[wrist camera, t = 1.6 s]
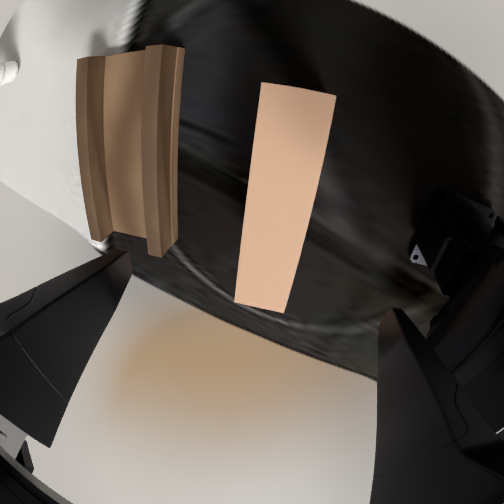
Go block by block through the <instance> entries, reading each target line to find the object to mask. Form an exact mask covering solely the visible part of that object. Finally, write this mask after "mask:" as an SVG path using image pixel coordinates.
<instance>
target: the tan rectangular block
mask: <svg viewBox="0 0 504 504" xmlns="http://www.w3.org/2000/svg"><path fill="white" fill-rule="evenodd" d="M335 101H336V96H335V95H331V94H326V93H322V92H317V91H312V90H307V89H302V88H297V87H291V86H285V85H279V84H272V83H264V82H262V83H261V90H260V98H259V105H258V113H257V120H256V128H255V135H254V143H253V151H252V158H251V166H250V174H249V182H248V190H247V198H246V206H245V215H244V223H243V231H242V240H241V248H240V257H239V266H238V274H237V283H236V292H235V301H234V302H237V303H241V304H245V305H249V306H254V307H258V308H263V309H267V310H272V311H276V312H281V313H284V310H285V307H286V304H287V300H288V297H289V293H290V290H291V286H292V283H293V279H294V276H295V272H296V269H297V265H298V261H299V258H300V254H301V250H302V246H303V242H304V239H305V235H306V231H307V227H308V223H309V219H310V215H311V211H312V207H313V203H314V199H315V195H316V190H317V186H318V182H319V177H320V173H321V169H322V164H323V160H324V155H325V150H326V146H327V141H328V136H329V131H330V126H331V121H332V116H333V111H334V106H335Z"/></svg>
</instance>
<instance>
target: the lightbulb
mask: <svg viewBox="0 0 504 504" xmlns="http://www.w3.org/2000/svg"><path fill="white" fill-rule="evenodd" d="M17 73H18V66H17V63H16V62H15V61H8V62H1V61H0V85H3V84H5V83H8V82H11V81H13V80H14V78H15V77H16V74H17Z"/></svg>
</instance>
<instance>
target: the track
mask: <svg viewBox="0 0 504 504" xmlns="http://www.w3.org/2000/svg"><path fill="white" fill-rule="evenodd" d="M184 54H185V48H180V47H174V46H169V45H163V44H161V45H152V46H146V50H142V51H134V52H127V53H121V54H115V55H110V56H92V57H85V58H81V59H77V72H76V128H77V145H78V157H79V166H80V175H81V183H82V190H83V197H84V203H85V209H86V214H87V220H88V225H89V230H90V235H91V239H92V240H96V241H99V242H102V241H103V240H104V239H105V238H106V237H107V236H108V235H109V234H110V233H112V232H113V231H117V232H122V233H126V234H130V235H134V236H139V237H143V238H147V246H148V254H149V255H153V256H157V257H161V258H162V256H163V255H164V254H165V253H166V251H167V250H168V249H169V247H170V246H171V245H172V244H174V243H175V241H176V240H177V239H178V222H177V162H178V132H179V113H180V98H181V85H182V74H183V64H184Z"/></svg>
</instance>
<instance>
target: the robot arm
mask: <svg viewBox="0 0 504 504" xmlns="http://www.w3.org/2000/svg"><path fill="white" fill-rule="evenodd" d="M441 192H443V195H442V196H440V193H441ZM490 213H491V214H490ZM489 214H490V216H489ZM494 217H495V212H494V210H493V209H491V208H490V207H488V206H486V205H484V204H481V203H479V202H477V201H475V200H473V199H470V198H468V197H466V196H464V195H461V194H459V193H457V192H454V191H452V190H449V189H447V188H444V187H438V188H437V189H436V191H435V193H434V196H433V199H432V201H431V204H430V207H429V209H428V211H427V212H426V213H425V215H424V218H423V220H422V223H421V225H420V227H419V230H418V232H417V234H416V237H415V242H414V245H413V247H412V249H411V251H410V253H409V258H410V260H411V261H412V262H414V263H418V264H422V265H426V266H428V268H429V270H430V272H431V273H433V274H434V276H435V278H436V280H437V283H438V285H439V287H440V289H441V292H442V294H443V295H447V296H448V297H449V300H448V301H447V303H446V304H445V305H444V307H443V308H442V309H441V310H440V312H439V313H438V314H437V316H434V317H433V319H432V320H431V321H430V330H429V332H428V334H427V337H426V339H425V337H424V336H423V335H422V333H421V332H420V331H419V330H418V328H417V327H416V326H415V325H414V324H413V322H412V321H411V320H410V319H409V317H408V316H407V315H406V314H405V313H404V311H403V310H401V309H397V308H390V309H389V311H388V312H387V314H386V316H385V317H384V319H383V320H382V322H381V324H380V326H379V337H378V357H377V435H376V452H375V465H374V475H373V483H372V491H371V498H370V504H504V219H503V218H502V217H500V216H497V218H496V220H495V222H494V224H495V225H494V227H492V225H491V224H492V222H493V220H494ZM414 255H417V256H416V257H413V256H414ZM131 275H132V265H131V260H130V254H129V252H128V251H126V250H122V249H116V250H114V251H112V252H109V253H107V254H105V255H103V256H100V257H98V258H96V259H94V260H91V261H89V262H87V263H85V264H83V265H81V266H78V267H76V268H74V269H72V270H69V271H67V272H65V273H63V274H61V275H59V276H57V277H55V278H53V279H51V280H49V281H47V282H45V283H42V284H40V285H38V286H37V287H34V288H32V289H30V290H28V291H27V292H24V293H22V294H20V295H18V296H16V297H14V298H11V299H9V300H7V301H5V302H2V303H0V504H72V503H71V502H70V501H68V500H66V499H65V498H63V497H62V496H60V495H59V494H58V493H56V492H55V491H53V490H52V489H51V488H49V487H48V486H46V485H45V484H44V483H42V482H41V481H40V480H39V479H37V478H36V477H35V476H34V475H32V472H33V470H34V467H33V463H32V460H31V457H30V453H29V449H28V445H27V441H26V440H25V438H26V436H27V434H28V435H29V436H31V437H32V438H34V439H35V440H37V441H39V442H40V443H42V444H43V445H45V446H47V447H48V448H50V447H51V445H52V442H53V440H54V437H55V435H56V432H57V429H58V427H59V424H60V422H61V419H62V417H63V415H64V413H65V410H66V408H67V405H68V403H69V401H70V398H71V396H72V394H73V392H74V390H75V388H76V385H77V383H78V381H79V379H80V377H81V375H82V373H83V371H84V369H85V366H86V365H87V363H88V361H89V359H90V357H91V355H92V353H93V351H94V349H95V347H96V345H97V343H98V341H99V339H100V337H101V336H102V334H103V332H104V330H105V328H106V327H107V325H108V323H109V321H110V319H111V318H112V316H113V314H114V312H115V310H116V308H117V306H118V304H119V302H120V299H121V297H122V295H123V293H124V291H125V288H126V286H127V284H128V282H129V279H130V278H131Z"/></svg>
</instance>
